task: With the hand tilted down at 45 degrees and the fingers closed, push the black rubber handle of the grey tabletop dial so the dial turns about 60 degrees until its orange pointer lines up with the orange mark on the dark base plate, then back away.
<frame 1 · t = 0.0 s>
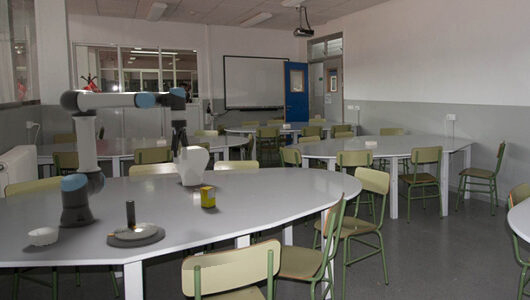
hand: (180, 161, 195), 28 cm above the table, tool pointing down, fingers open, 13 cm apart
ramekin: (44, 243, 165), on the table
dial: (135, 219, 168), point 8 cm above the table, hinge at 0.0°
white faceted lump: (193, 182, 279), on the table
base plate: (136, 237, 169), on the table
supplement box: (208, 207, 215), on the table
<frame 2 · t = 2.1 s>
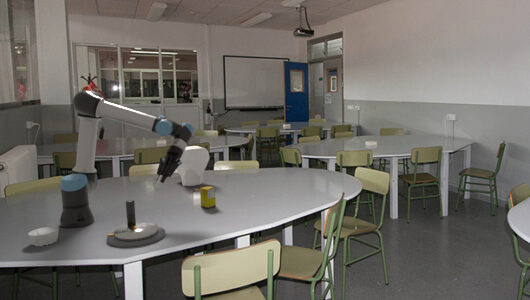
hand: (156, 187, 188), 17 cm above the table, tool tilted 45°, fingers closed
nothing on the table moved.
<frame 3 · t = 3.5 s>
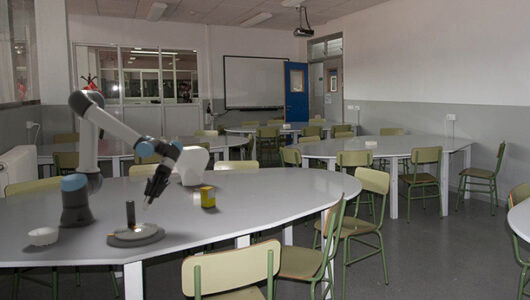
hand: (143, 209, 181), 9 cm above the table, tool tilted 45°, fingers closed
nothing on the table moved.
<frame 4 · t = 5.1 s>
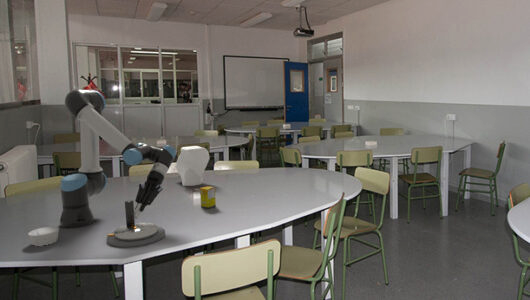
hand: (135, 217, 176), 6 cm above the table, tool tilted 45°, fingers closed
dial: (135, 219, 168), point 8 cm above the table, hinge at 3.8°, touching gripper
everything else where it was.
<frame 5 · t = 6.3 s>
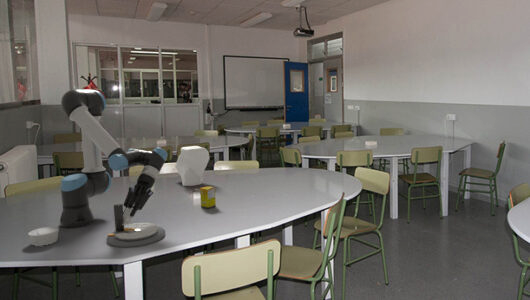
hand: (124, 222, 171), 6 cm above the table, tool tilted 45°, fingers closed on dial, 1 cm apart
dial: (135, 219, 168), point 8 cm above the table, hinge at 58.4°, touching gripper
everything else where it was.
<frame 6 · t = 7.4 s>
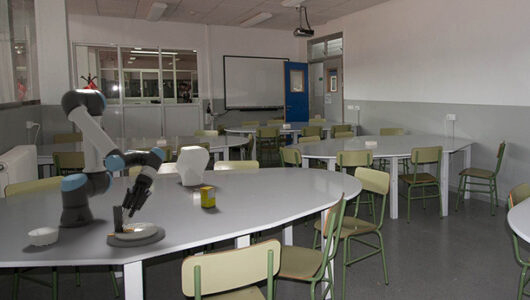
hand: (122, 223, 169), 6 cm above the table, tool tilted 45°, fingers closed
dial: (135, 219, 168), point 8 cm above the table, hinge at 74.4°, touching gripper
everything else where it was.
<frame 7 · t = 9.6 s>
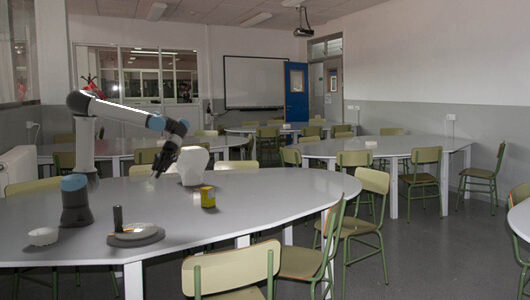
hand: (151, 183, 185), 20 cm above the table, tool tilted 45°, fingers closed
dial: (135, 219, 168), point 8 cm above the table, hinge at 74.5°
everything else where it was.
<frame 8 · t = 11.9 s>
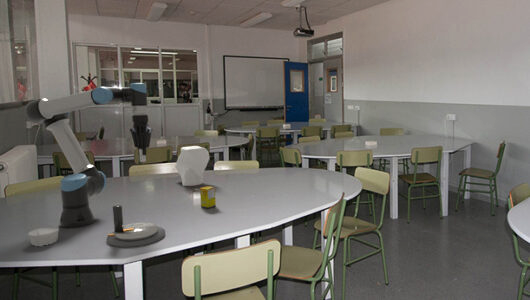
hand: (142, 161, 196), 28 cm above the table, tool pointing down, fingers closed
nothing on the table moved.
at the end: dial at +74° (first picture: +0°) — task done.
